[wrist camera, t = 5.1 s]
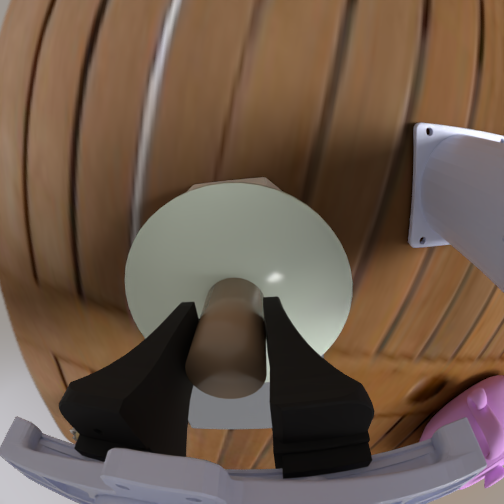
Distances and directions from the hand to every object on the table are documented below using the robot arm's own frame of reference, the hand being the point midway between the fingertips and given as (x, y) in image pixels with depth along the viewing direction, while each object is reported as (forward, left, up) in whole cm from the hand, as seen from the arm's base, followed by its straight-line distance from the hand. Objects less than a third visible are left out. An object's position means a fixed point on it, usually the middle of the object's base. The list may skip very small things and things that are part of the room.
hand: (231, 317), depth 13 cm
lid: (0, +1, -2) cm, 2 cm away
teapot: (-30, +25, -6) cm, 40 cm away
